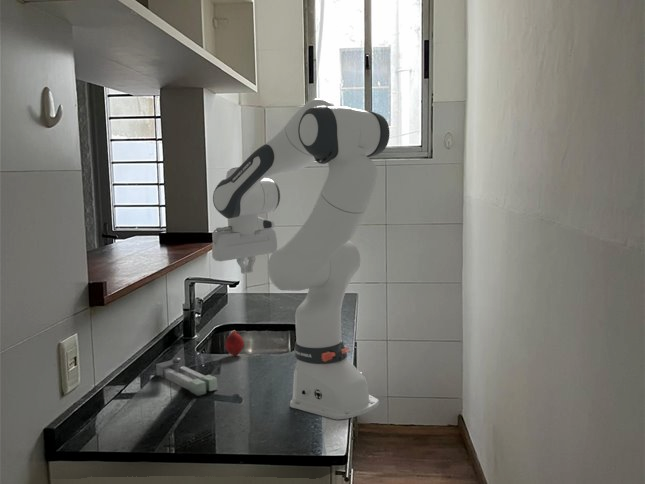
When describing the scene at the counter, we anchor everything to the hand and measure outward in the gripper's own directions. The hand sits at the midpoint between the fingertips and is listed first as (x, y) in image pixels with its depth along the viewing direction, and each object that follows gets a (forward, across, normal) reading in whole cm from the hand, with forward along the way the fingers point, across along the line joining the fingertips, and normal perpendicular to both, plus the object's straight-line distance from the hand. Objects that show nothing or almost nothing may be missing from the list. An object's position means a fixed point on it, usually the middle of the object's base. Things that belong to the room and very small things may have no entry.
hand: (246, 272), depth 184 cm
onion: (+28, +2, +12) cm, 30 cm away
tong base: (+27, -20, +3) cm, 34 cm away
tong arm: (+27, -19, +1) cm, 33 cm away
